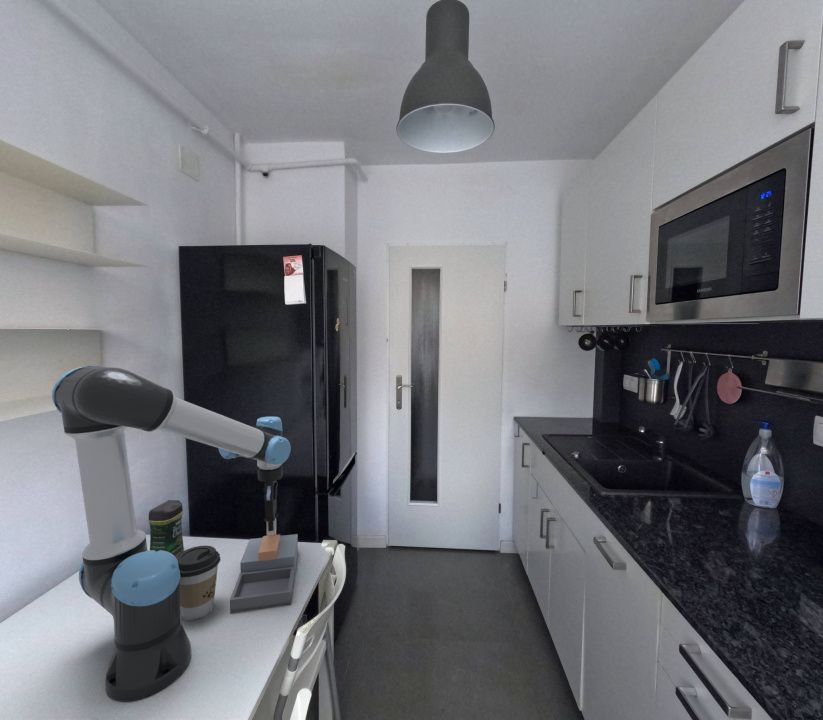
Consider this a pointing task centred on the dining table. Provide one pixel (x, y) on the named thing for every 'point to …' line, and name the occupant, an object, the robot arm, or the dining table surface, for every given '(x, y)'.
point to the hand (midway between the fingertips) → (271, 538)
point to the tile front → (268, 551)
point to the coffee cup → (197, 580)
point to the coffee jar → (166, 527)
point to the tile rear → (271, 539)
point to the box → (262, 589)
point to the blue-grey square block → (284, 559)
